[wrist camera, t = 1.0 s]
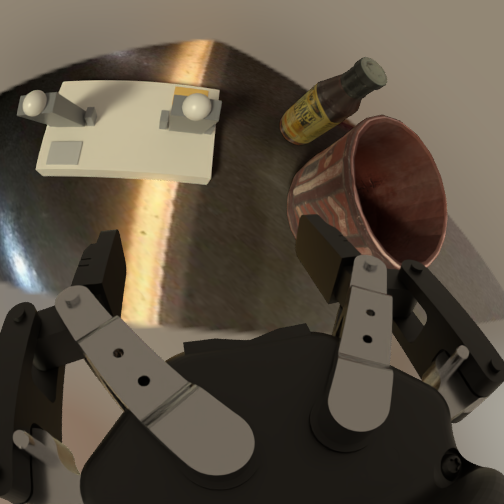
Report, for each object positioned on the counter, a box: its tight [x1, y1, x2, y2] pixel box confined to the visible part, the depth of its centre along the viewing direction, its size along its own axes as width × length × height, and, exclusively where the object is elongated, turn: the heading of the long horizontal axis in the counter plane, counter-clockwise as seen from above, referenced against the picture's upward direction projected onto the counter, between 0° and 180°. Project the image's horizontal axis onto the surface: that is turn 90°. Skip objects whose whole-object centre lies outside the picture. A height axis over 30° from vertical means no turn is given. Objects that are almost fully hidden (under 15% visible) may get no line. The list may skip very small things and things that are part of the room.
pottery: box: [287, 115, 447, 270], centre depth 35 cm, size 18×18×18 cm
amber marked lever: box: [169, 93, 222, 134], centre depth 27 cm, size 3×4×14 cm, turn 88°
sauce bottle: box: [280, 57, 387, 145], centre depth 33 cm, size 7×6×20 cm
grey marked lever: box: [17, 90, 86, 127], centre depth 22 cm, size 3×4×14 cm, turn 88°
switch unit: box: [36, 80, 220, 185], centre depth 32 cm, size 14×24×5 cm, turn 88°
